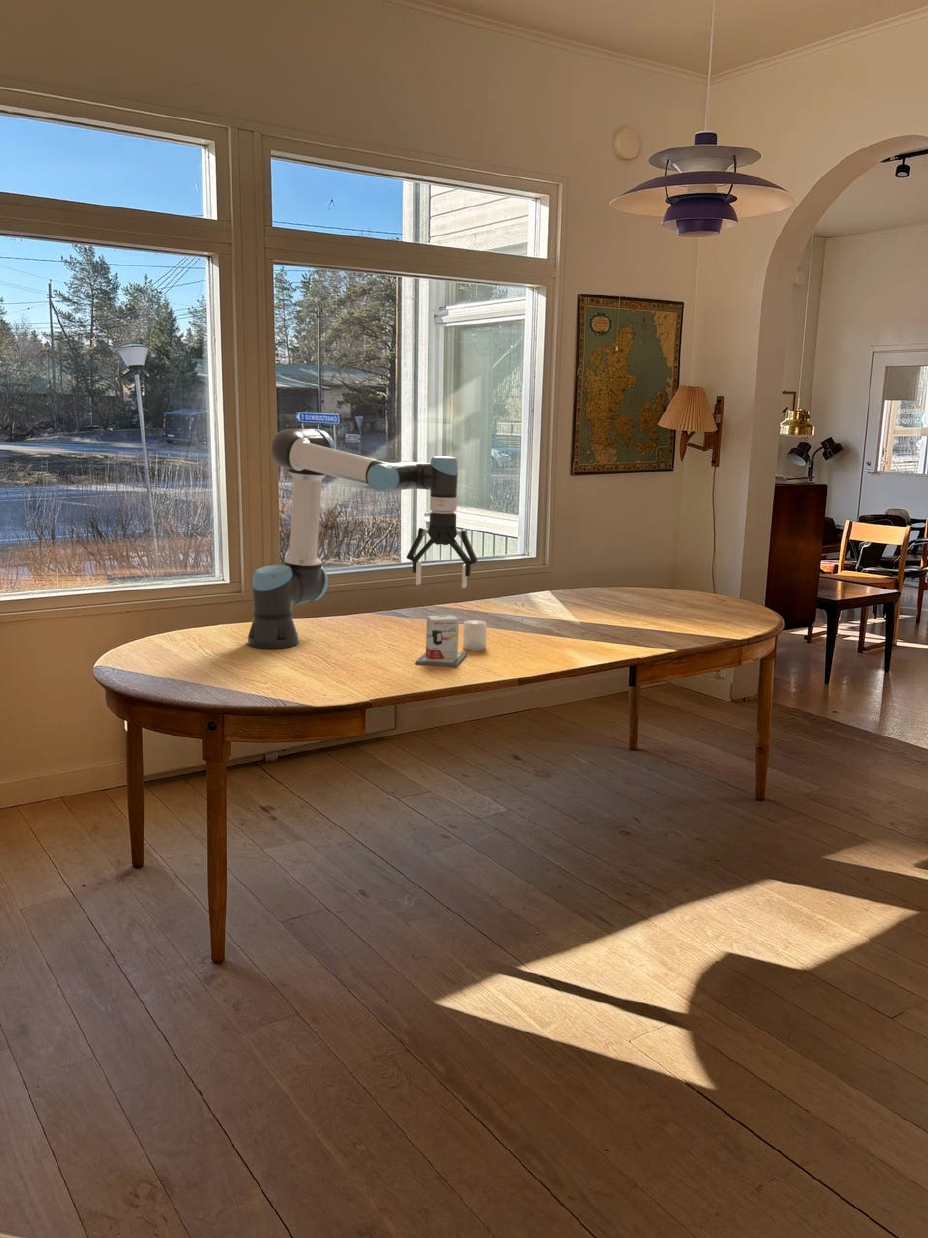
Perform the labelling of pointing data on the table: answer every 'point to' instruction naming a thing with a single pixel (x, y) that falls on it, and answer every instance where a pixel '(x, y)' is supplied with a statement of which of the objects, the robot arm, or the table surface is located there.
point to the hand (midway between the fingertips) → (441, 585)
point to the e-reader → (442, 660)
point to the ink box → (442, 637)
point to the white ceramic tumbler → (474, 635)
